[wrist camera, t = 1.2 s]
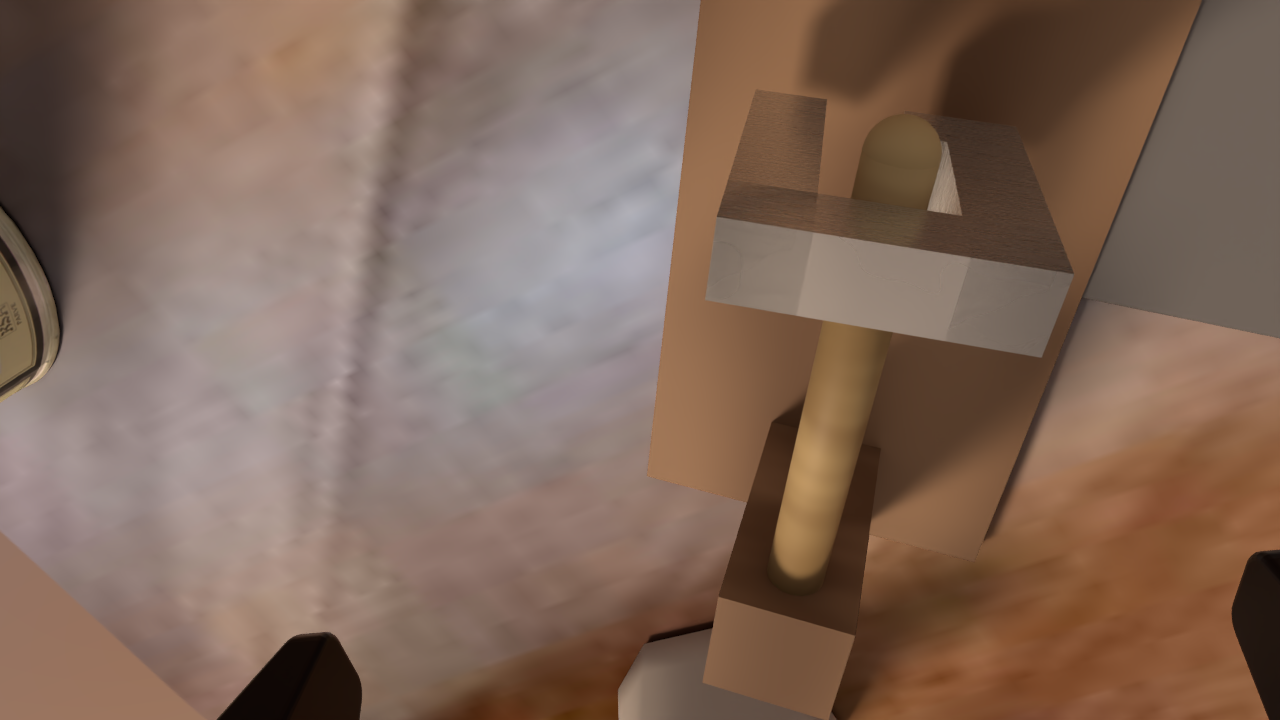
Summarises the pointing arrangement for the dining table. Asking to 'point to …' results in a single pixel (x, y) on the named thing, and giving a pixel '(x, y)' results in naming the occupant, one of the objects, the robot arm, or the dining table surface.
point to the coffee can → (23, 313)
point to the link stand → (863, 357)
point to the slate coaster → (1207, 183)
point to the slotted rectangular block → (891, 237)
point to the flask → (687, 687)
